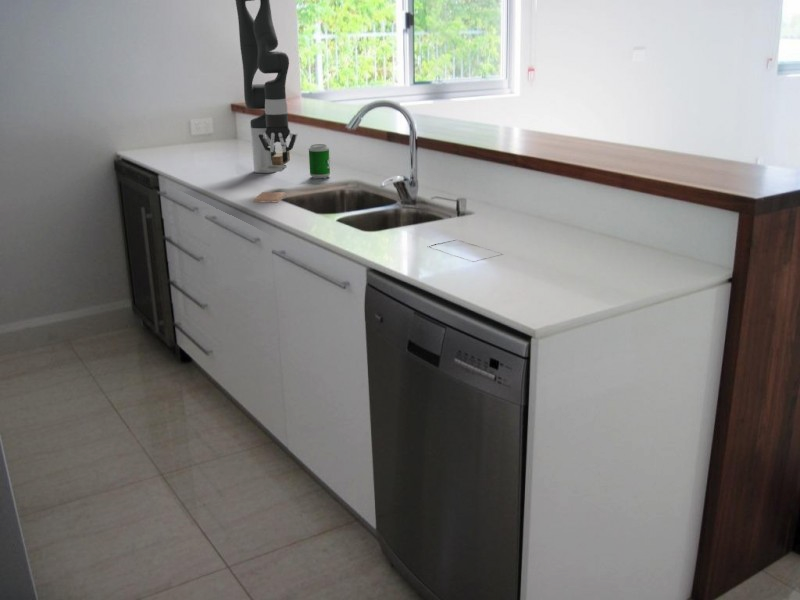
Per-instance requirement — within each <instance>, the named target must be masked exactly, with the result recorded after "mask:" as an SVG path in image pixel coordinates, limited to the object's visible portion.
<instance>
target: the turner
mask: <svg viewBox="0 0 800 600" xmlns="http://www.w3.org/2000/svg"><path fill="white" fill-rule="evenodd" d="M290 154H291V153H290V150H289V151H288V161H286V163H283V150H280V151H278V152H277V154H276V155H274V156H273V157H272V165H266V166H264V167H263V168H261V172H270V173H276V172H278V173H279V172H281V173H282V172H283V171H284V170H285V169H286V168H287V163H289V162H290V160H291V158H290V157H291V156H290Z"/></svg>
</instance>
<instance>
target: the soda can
mask: <svg viewBox="0 0 800 600" xmlns="http://www.w3.org/2000/svg"><path fill="white" fill-rule="evenodd" d="M308 157H309V159H308V160H309V162H308V163H309V164H308V165H309V175H310V177H313V178H312V179H315V178H324V179H327V177H328V178H329V176H330V174H331V168H330V167H331V166H330V165H331V164H330V161H331V160H330V147H328V146H327V144H323V143H322V144H321V143H319V144H317V143H316V144H311V145H310V147H309V148H308Z"/></svg>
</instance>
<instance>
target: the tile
mask: <svg viewBox="0 0 800 600" xmlns="http://www.w3.org/2000/svg"><path fill="white" fill-rule="evenodd" d="M284 197H286V192H283V191H280V192H279V191H277V192H276V191H275V192H274V191H262V192H261V193H259V194H258V195H256V197H254V198H253V202H254V203H261V202H260V201H277V202H276V203H279V202H280V201H281V200H282V199H283V198H284ZM279 200H280V201H279ZM257 201H258V202H257ZM278 201H279V202H278Z"/></svg>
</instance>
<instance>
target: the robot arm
mask: <svg viewBox="0 0 800 600" xmlns="http://www.w3.org/2000/svg"><path fill="white" fill-rule="evenodd" d="M252 1H253V2H254V0H235V6H236V12H237V18H238V19H237V21H238V32H239V34H238V35H239V46H240V53H241V54H240V55H241V61H242V63H241V64H242V71H243V91H244V93H243V95H244V102H245V107H246V108H247V109H249V110H264V112H263V113H262V114H261V115H259V116H257V117H254V118H252V119H251V120H250V133H251V135H250V136H251V147H252V158H253V159H252V160H253V172H254V173H257V174H258V173H259V174H266V173H267V174H268V173H271V172H261V168H263V167H264V166H266V165H272V157H273V156H274V155H276V154H277V153H278V152H277V143H280V146H281V149H282V150H281V151H283V163H286V161H288V151H289V152H290V151H291V150H293V148H294V146H295V143H296V140H297V137H298V134H297V133H296V132H292V131H290V128H289V116H288V104H287V95H286V94H287V93H286V82H287V76H288V71H289V66H290V58H289V56H288V55H287V53H286V52H285V51H282V50H276V49H277V47H278V45H279V40H278V37H277V33H276V30H275V27H274V24H273V16H272V10H271V2H270V0H259V2H260V3H259V4H260V5H259V8H258V11H257V13H256V16H255V18H254V17H253V16H252V15H251V13H250V11H249V9H248V7H247V5H246V3H247V2H252ZM258 70H259V72H261V73H262V74H268V75H269V74H276V76H275V78H274V79H271V80H268V81H266V82H264V83H260V84H259V83H258V84H257V83H255V84H253V81H254V78H255V75H256V73H257V71H258ZM288 138H289V139H290V141H289V144H288V143H287V139H288ZM288 162H289V161H288ZM286 164H287V163H286Z"/></svg>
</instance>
